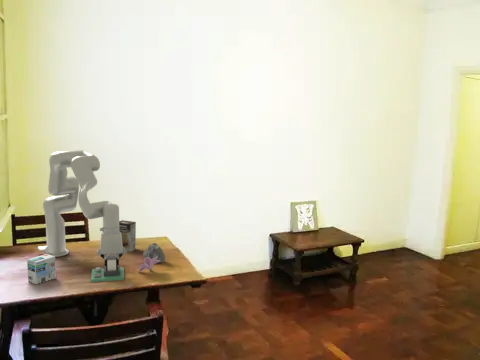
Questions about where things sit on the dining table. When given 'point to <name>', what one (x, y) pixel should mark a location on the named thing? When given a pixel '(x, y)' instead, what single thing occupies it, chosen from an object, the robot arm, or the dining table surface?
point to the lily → (148, 264)
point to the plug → (111, 262)
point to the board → (107, 274)
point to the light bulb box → (41, 268)
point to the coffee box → (128, 234)
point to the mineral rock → (154, 253)
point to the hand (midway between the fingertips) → (111, 266)
